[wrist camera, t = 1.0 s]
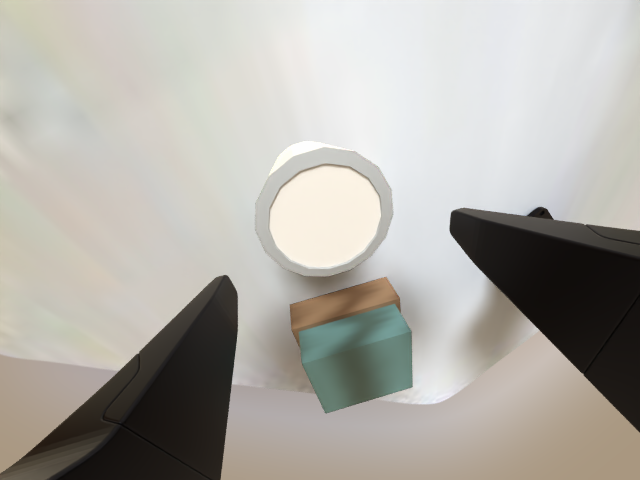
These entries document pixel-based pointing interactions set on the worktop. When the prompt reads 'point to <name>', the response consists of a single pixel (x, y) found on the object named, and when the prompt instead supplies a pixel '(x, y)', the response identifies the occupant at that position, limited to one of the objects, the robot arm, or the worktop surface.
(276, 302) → the worktop surface
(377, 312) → the teal and brown block
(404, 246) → the worktop surface
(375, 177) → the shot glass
